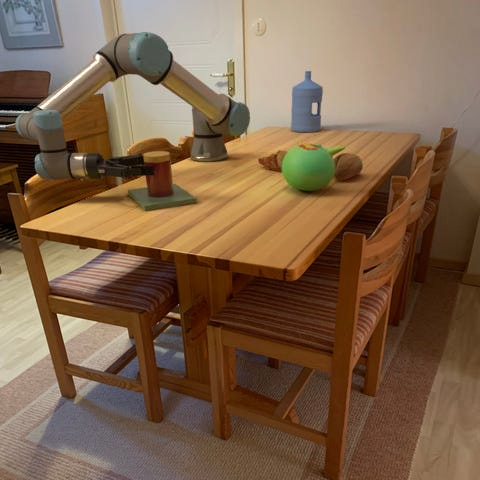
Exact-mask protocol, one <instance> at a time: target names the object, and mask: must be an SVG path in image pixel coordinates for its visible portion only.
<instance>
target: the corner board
mask: <svg viewBox="0 0 480 480" xmlns="http://www.w3.org/2000/svg"><path fill="white" fill-rule="evenodd" d="M173 191H174V194H173V195H171V196H167V197H150V196H148V193H147V186H146V187H140V188H139V187H137V188H132V189H127V195H128V196H129V197H130V198H131V199H132V200H133V201H134V202H135V203H136V204H137V205H138V206H140V207H141V208H142V209H143V210H144V211H145V212H148V211H154V210H155V211H156V210H160V209H161V210H162V209H167V208H173V207H180V206H186V205H192V204H198V200H197V199H198V198H197V197H196V196H194V195H193V194H191V193H190V192H188V191H187V190H185V189H184V188H182V187H181V186H179V185H178V184H176V183H174V182H173Z"/></svg>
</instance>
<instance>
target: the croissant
mask: <svg viewBox="0 0 480 480" xmlns="http://www.w3.org/2000/svg"><path fill="white" fill-rule="evenodd" d="M287 152H288V151H285V150H281V149H280V150H278V151H277V152H276V153H271V154H270V155H268V156H263V157H260V158H257V159H258V161H257V162H258V164H260V165H261V166H263V167H264V168H265V169H267V170H272V171H277V172H278V171H279V172H282V162H283V159H284V157H285V155H286V154H287Z"/></svg>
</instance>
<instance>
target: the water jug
mask: <svg viewBox="0 0 480 480" xmlns="http://www.w3.org/2000/svg"><path fill="white" fill-rule="evenodd" d="M291 88H292V89H291V123H290V130H291V131H292V132H294V133H315V132H319V131H321V128H322V123H321V122H322V114H321V109H322V101H323V93H324V89H323V86H322V85H320V84H319V83H317V82H315V81H313V80H312V70H306V71H304V79H303V80H302V81H301V82H299V83H297V84H296V85H294V86H292V87H291ZM314 103H316V105H317V107H316V108H317V109H316V113H313V104H314Z"/></svg>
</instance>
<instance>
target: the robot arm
mask: <svg viewBox="0 0 480 480" xmlns="http://www.w3.org/2000/svg"><path fill="white" fill-rule="evenodd" d="M128 75H136V76H139V77H141V78H143V80H146V81H147V82H148V83H150V84H151V85H152V86H158V85H161V86H162V87H164V88H165V89H167V90H168V91H170V92H171V93H172V94H174V95H175V96H177V97H178V98H179V99H181V100H182V101H184V102H185V103H187V104H188V105H190V106H191V113H192V115H191V116H192V126H193V128H192V129H193V143H192V147H191V152H190V159H191V160H192V161H196V162H206V163H207V162H220V161H223V160H226V159H228V157H229V155H228V154H229V152H228V150H227V147H226V144H225V141H224V138H223V137H224V135H227V136H232V137H239V136H242V135H244V134H245V133H246V131H248V128H249V125H250V123H251V122H250V121H251V116H250V115H251V113H250V109H249V107H248V105H247V104H245V103H243V102H241V101H239V102H237V101H235V100H233V99H232V98H231V97H230V96H228V95H227V94H225V93H217V92H216V91H214V90H213V89H212V88H211V87H210V86H208V85H207V84H206V83H204V82H202V80H200V79H199V78H198V77H196V76H195V75H194V74H192V73H191V72H190V71H189V70H188V69H186V68H185V67H183V66H182V65H181V64H180V63H179V62H177V61H176V60H174V53H173V52H172V51H170V50H169V46H168V44H167V42H166V41H165V39H164V38H163V37H161V36H159V35H158V34H156V33H153V32H148V31H142V32H135V33H134V32H133V33H132V32H131V33H121V34H119V35H117V36H115V37H114V38H112V39H111V40H110V41H108V42H107V43H106V44H104V46H102V47H101V48H100V49H99V50H98V51H96V52H94V54H93V55H92V60H91V61H90V62H89V63H88V64H86V65H85V66H84V67H83V68H81V69H80V70H79V71H78V72H77V73H75V74H74V75H73V76H72V77H71V78H69V79H68V80H67V81H66V82H64V83H63V84H62V85H61V86H59V87H58V88H56V90H55V91H54V92H52V93H51V94H49V96H48V97H47V98H45V99H44V100H43V101H41V102H40V103H39V104H38V105H37V106H36V107H34V108H33V109H31V110H29V112H24V113H21V114H20V115H18V116H17V117H16V119H15V129H16V131H17V133H18V134H19V135H20V136H21V137H22V138H24V139H26V140H29V141H34V142H37V143H38V144H39V150H40V153H37V154H36V156H35V158H34V169H35V172H36V174H37V175H38V177H39V178H40V179H42V180H53V181H58V180H80V181H81V182H83V181H84V180H89V179H91V180H102V179H103V178H104V177H105V176H107V177H117V178H124V179H126V178H127V180H131V179H132V177H140V176H141V177H142V176H144V177H146V176H152V175H155V173H154V165H144V158H143V157H144V156H143V155H142V152H140V153H138V154H132V155H124V156H123V155H122V156H110V157H108V158H107V159H104V156H103V154H101V153H100V152H88V153H87V152H71V153H69V152H68V147H67V142H66V136H65V131H64V123H63V121H64V120H65V119H66V118H67V117H69V116H70V115H71V114H72V113H73V112H74V111H76V110H77V109H78V108H79V107H81V106H82V105H83V104H84V103H85V102H86V101H88V100H89V99H90V98H91V97H93V96H94V95H95V94H96V93H97V92H99V91H100V90H101V89H102V88H103V87H104V86H106V85H107V84H108V83H109V82H110V83H114V82H116V81H117V80H118V79H120V78H122V77H123V76H128Z"/></svg>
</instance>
